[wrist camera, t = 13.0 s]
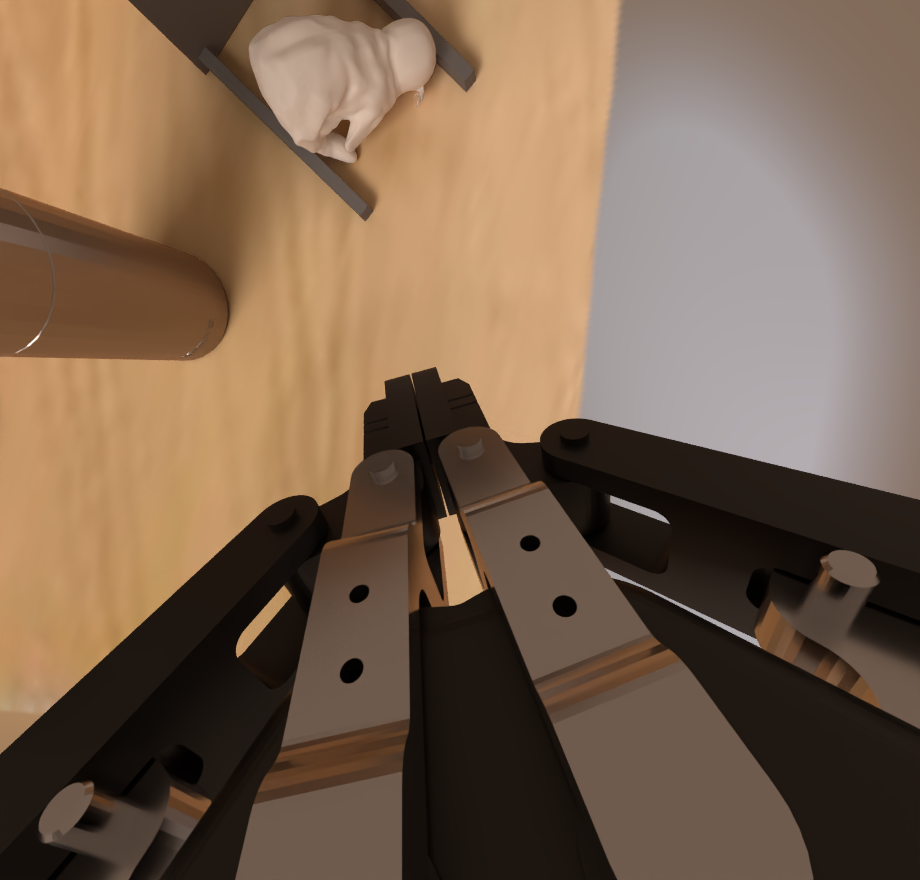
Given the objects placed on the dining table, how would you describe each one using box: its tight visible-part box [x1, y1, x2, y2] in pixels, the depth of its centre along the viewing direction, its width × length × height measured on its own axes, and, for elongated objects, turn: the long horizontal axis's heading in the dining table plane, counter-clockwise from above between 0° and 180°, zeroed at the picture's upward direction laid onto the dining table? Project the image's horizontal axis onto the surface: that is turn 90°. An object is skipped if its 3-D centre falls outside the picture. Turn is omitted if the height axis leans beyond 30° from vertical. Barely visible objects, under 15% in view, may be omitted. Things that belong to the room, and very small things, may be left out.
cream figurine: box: [249, 15, 436, 163], centre depth 28 cm, size 6×8×12 cm
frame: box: [129, 0, 476, 221], centre depth 27 cm, size 19×14×11 cm
